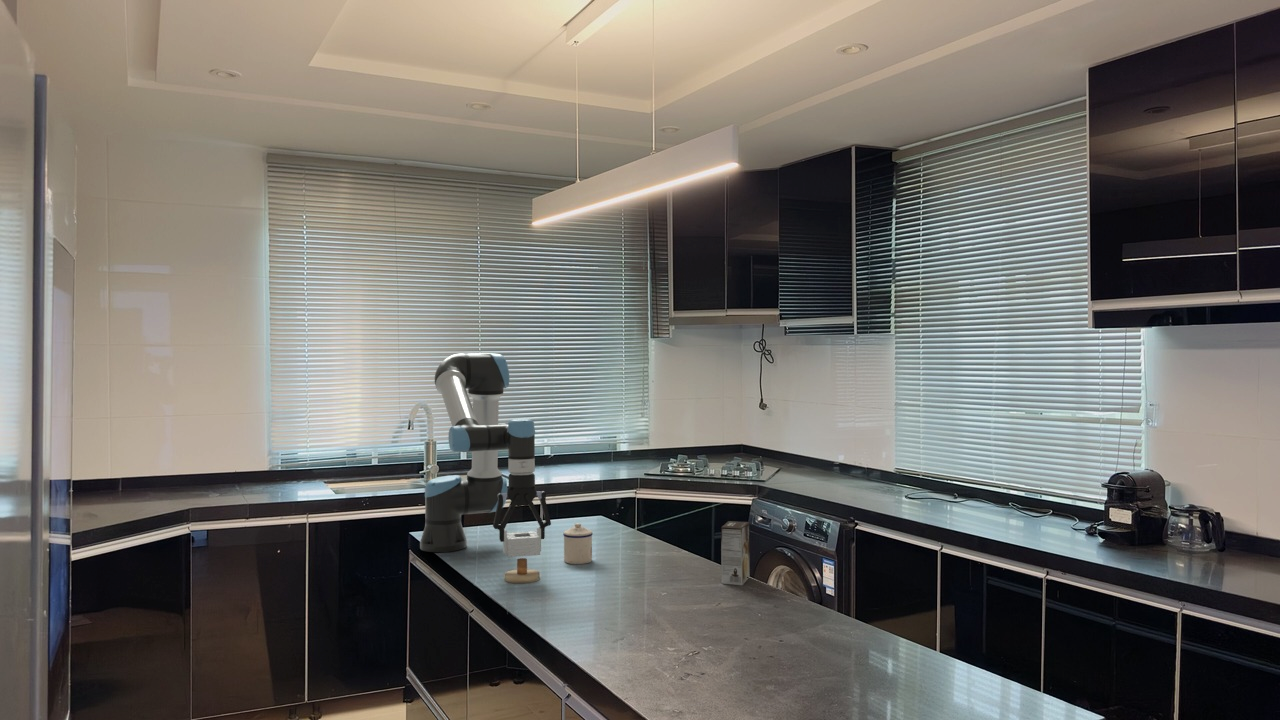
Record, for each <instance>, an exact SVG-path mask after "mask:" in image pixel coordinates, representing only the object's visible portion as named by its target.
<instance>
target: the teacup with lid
mask: <svg viewBox="0 0 1280 720" xmlns="http://www.w3.org/2000/svg"><path fill="white" fill-rule="evenodd" d="M562 536H563V560H564V563H566V564H571V565H585V564H588V563H591V562H592V561H593V542H592V541H593V531H592V530H591V529H588V528H586V527H585V526H582V524H581V523H579V522H577V523H574V526H572V527H571V528H569V529H566V530H564V531H563V535H562Z"/></svg>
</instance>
